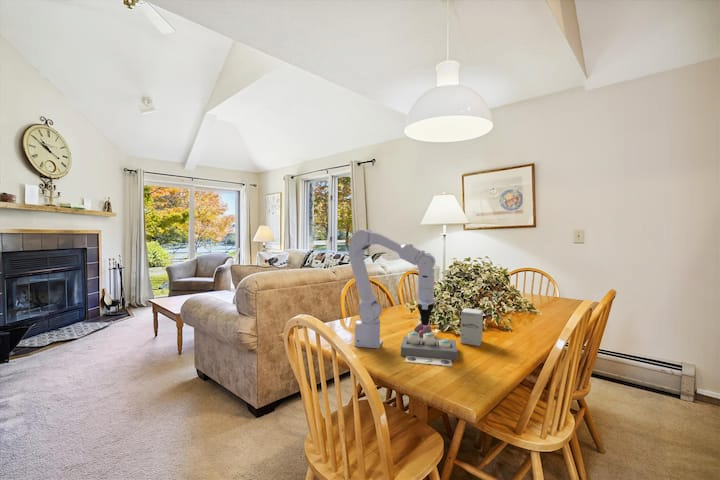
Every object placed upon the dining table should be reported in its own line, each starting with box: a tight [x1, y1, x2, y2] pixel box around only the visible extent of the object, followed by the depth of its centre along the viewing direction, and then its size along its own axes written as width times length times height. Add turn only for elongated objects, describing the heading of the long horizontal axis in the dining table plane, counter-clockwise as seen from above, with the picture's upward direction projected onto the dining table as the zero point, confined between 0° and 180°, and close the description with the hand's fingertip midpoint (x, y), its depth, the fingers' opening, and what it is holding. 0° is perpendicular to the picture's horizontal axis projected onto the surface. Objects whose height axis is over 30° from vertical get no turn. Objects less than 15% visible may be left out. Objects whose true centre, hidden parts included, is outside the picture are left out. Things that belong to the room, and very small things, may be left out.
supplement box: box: [459, 307, 484, 347], centre depth 129 cm, size 7×7×13 cm
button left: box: [407, 331, 419, 345], centre depth 120 cm, size 4×4×4 cm
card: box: [404, 356, 453, 368], centre depth 110 cm, size 15×5×1 cm, turn 77°
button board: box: [400, 336, 458, 362], centre depth 119 cm, size 19×12×3 cm, turn 77°
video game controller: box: [413, 322, 432, 338], centre depth 138 cm, size 10×5×7 cm, turn 179°
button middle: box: [423, 332, 436, 346], centre depth 118 cm, size 4×4×4 cm
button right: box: [439, 338, 451, 348], centre depth 117 cm, size 4×4×4 cm
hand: (425, 324), depth 119 cm, fingers closed
